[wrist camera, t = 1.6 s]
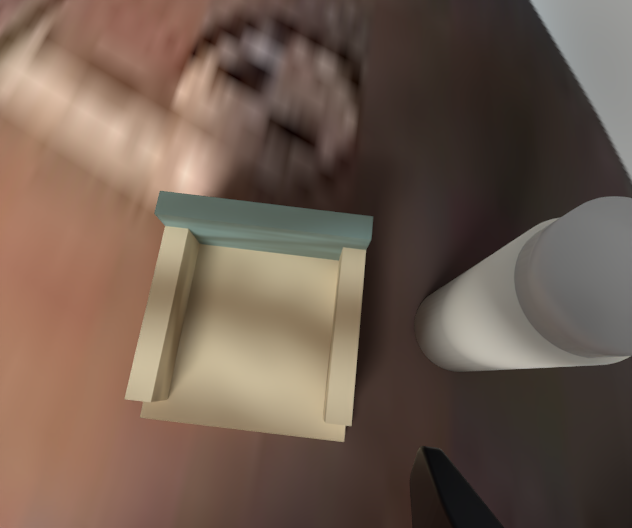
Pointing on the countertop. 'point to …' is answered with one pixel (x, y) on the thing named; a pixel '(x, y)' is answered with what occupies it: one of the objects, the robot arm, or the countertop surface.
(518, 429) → the countertop surface
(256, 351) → the stand
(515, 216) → the countertop surface
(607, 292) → the mill
